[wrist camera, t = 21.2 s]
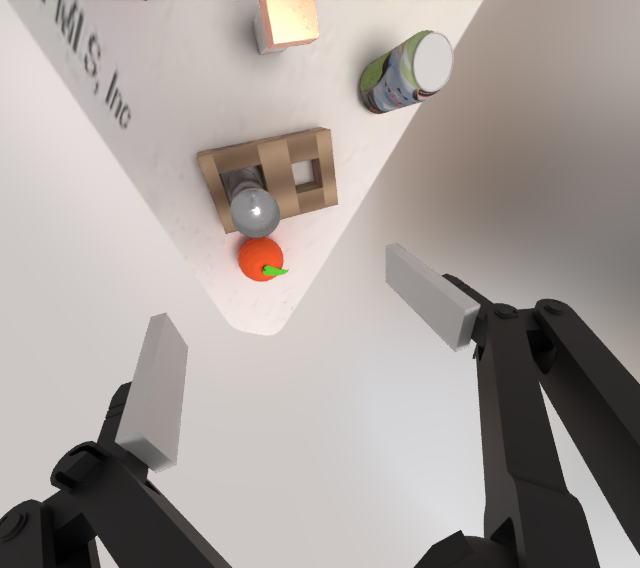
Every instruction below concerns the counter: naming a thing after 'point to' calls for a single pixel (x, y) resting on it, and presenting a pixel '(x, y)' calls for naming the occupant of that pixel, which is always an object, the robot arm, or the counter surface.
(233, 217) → the grey capped cylinder
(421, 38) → the beverage can
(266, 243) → the clementine
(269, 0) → the pin
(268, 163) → the mount block
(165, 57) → the counter surface
